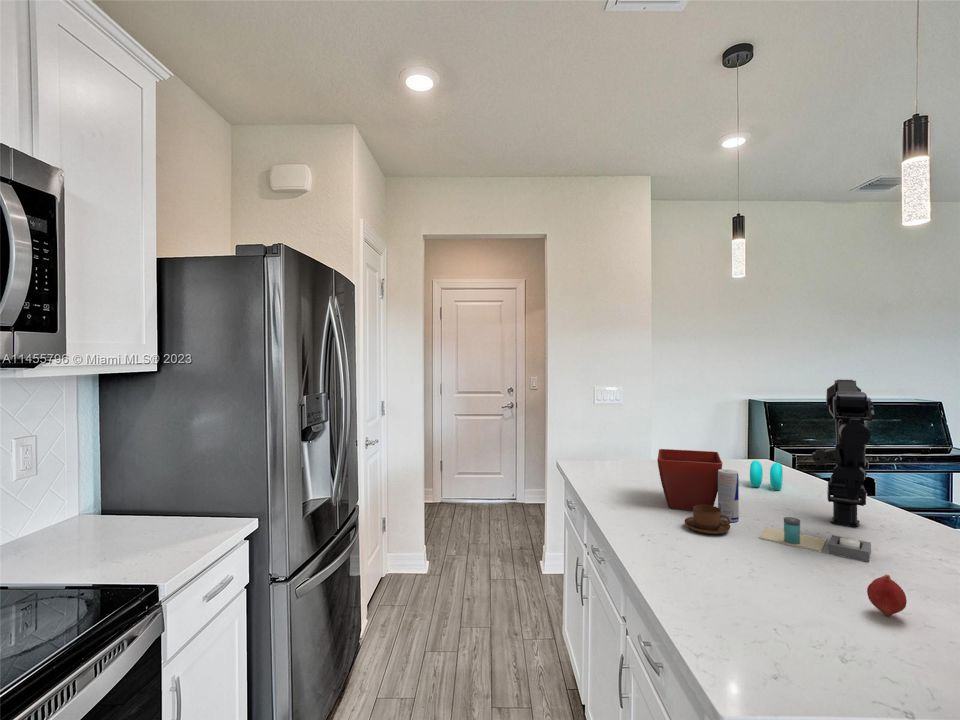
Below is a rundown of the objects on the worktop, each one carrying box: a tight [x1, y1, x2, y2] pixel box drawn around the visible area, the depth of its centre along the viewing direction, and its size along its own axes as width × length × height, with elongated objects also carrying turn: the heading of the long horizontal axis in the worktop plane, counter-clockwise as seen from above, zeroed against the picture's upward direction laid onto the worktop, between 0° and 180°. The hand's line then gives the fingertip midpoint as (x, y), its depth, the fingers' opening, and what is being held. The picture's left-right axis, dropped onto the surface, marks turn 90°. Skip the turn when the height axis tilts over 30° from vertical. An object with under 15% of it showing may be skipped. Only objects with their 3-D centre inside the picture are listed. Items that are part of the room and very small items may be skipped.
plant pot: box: [657, 448, 723, 512], centre depth 162 cm, size 19×19×17 cm
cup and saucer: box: [684, 505, 731, 535], centre depth 139 cm, size 12×12×6 cm
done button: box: [840, 536, 860, 548], centre depth 122 cm, size 4×4×3 cm
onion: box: [866, 573, 907, 617], centre depth 93 cm, size 6×6×8 cm
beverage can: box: [717, 468, 740, 523], centre depth 147 cm, size 6×6×15 cm
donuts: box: [749, 460, 784, 491], centre depth 182 cm, size 10×10×10 cm
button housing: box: [827, 534, 872, 563], centre depth 122 cm, size 8×8×2 cm
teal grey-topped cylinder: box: [783, 516, 801, 544], centre depth 129 cm, size 4×4×6 cm
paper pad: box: [758, 526, 827, 553], centre depth 131 cm, size 10×14×1 cm
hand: (851, 500), depth 126 cm, fingers closed
